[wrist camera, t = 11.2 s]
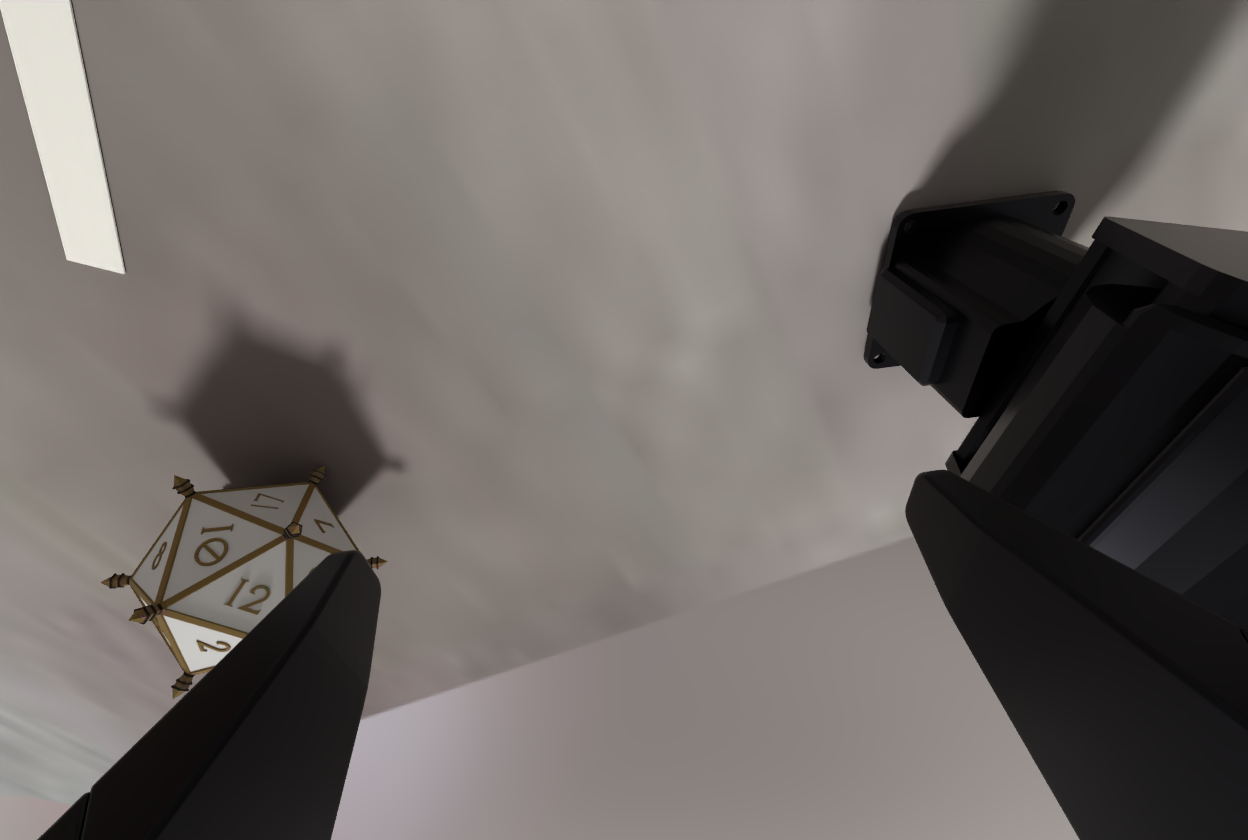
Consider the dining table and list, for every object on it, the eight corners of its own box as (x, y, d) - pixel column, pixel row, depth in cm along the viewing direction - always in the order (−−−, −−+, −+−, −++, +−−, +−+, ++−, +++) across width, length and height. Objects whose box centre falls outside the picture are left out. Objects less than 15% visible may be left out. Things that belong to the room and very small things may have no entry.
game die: (324, 478, 29) (204, 664, 25) (176, 398, 21) (-27, 643, 17) (450, 521, 25) (335, 744, 21) (325, 444, 18) (118, 759, 14)
